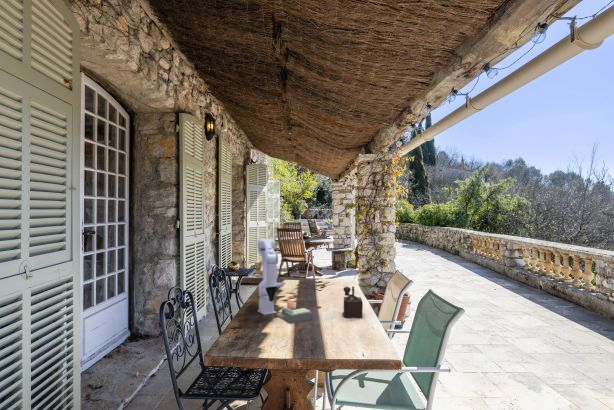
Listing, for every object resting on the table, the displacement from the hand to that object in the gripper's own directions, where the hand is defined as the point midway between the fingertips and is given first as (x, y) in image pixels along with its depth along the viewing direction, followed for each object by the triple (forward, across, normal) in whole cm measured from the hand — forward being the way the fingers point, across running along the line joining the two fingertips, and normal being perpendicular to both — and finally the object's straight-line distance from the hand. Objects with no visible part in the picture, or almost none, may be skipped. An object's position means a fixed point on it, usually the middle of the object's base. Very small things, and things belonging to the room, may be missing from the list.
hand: (271, 301), depth 191 cm
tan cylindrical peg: (+9, +13, +1) cm, 16 cm away
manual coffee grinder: (+11, +42, -19) cm, 47 cm away
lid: (+7, +13, -7) cm, 16 cm away
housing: (+10, +13, -3) cm, 17 cm away
